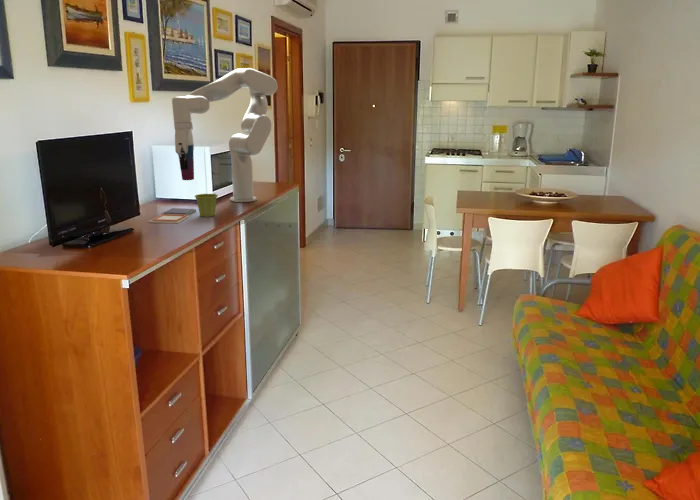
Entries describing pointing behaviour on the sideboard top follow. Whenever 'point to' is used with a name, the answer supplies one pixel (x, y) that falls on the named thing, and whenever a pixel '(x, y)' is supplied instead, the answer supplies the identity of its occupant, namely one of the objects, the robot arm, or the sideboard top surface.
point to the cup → (188, 173)
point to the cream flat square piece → (169, 218)
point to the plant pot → (206, 204)
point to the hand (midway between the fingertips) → (187, 167)
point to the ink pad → (180, 211)
